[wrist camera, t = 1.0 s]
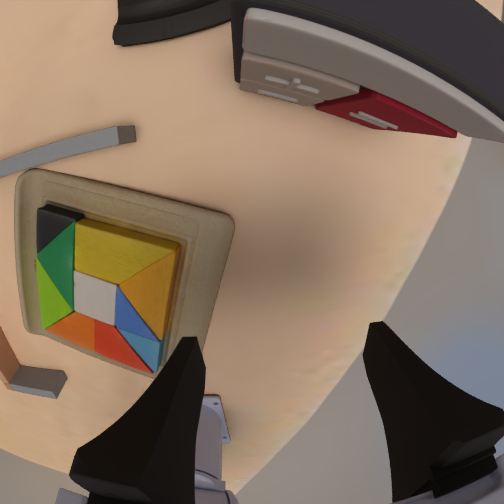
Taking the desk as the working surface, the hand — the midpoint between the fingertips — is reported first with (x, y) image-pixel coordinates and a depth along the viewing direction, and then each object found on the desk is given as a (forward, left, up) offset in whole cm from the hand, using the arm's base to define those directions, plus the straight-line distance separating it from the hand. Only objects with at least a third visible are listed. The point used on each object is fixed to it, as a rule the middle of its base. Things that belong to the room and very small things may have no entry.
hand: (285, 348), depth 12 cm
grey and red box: (+12, -5, -12) cm, 18 cm away
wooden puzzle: (-3, +13, -13) cm, 19 cm away
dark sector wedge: (+20, +3, -13) cm, 24 cm away
